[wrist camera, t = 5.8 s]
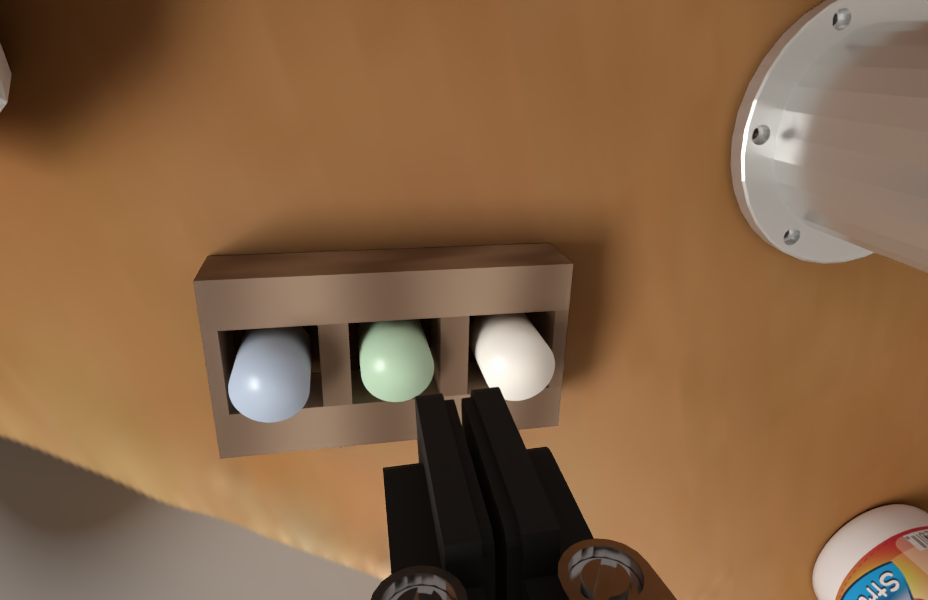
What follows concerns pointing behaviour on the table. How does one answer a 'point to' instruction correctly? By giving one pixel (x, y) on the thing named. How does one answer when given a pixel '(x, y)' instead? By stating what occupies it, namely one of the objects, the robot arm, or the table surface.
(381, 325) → the sage button
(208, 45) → the table surface
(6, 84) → the die
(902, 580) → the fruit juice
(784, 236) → the robot arm
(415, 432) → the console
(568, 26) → the table surface
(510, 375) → the cream button
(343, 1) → the table surface
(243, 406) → the slate blue button
